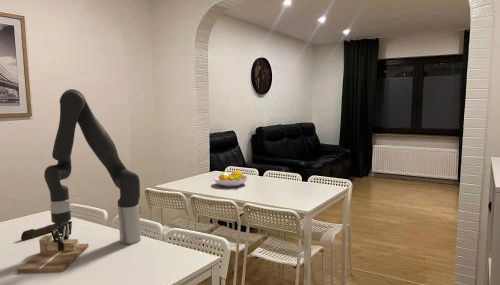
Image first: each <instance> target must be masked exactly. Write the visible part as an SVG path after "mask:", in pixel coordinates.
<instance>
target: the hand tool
mask: <svg viewBox="0 0 500 285" xmlns="http://www.w3.org/2000/svg"><path fill="white" fill-rule="evenodd" d="M54 230H55V223H52V224H49V225H48V224H47V225H46V226H43V227H39V228H36V229H35V228H31V229H28V230H24V231H23V232H22V233H21V236H20V241H21V242H23V241H24V242H25V241H29V240H33V239H35V238H36V237H38V236H42V235H44V234H45V235H46V234H48V233H51V231H54Z"/></svg>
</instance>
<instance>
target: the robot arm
mask: <svg viewBox="0 0 500 285" xmlns="http://www.w3.org/2000/svg"><path fill="white" fill-rule="evenodd" d="M59 112H60V113H59V123H58V128H57V132H56V135H55V138H54V139H55V140H54V144H53V149H52V153H51V156H52V159H53V160H56V161H57V164H52V165H48V166H47V167H46V168H45V170H44V172H43V173H44V175H43V178H44V180H45V183H46V185H47V187H48V190H49V197H50V216H51V223H52V224H55V230H54V231H51V232H50V233H51V234H50V235H52V240H54V243H58V251H63V250H64V242H63V240H65V239H70V236H71V234H72V229H73V228H72V227H73V221H72V214H71V213H72V210H71V202H70V194H69V188H68V186H67V185H62V183H61V181H63V180H66V179H68V178H69V177H70V175H71V174H72V159H71V157H72V151H73V147H74V143H75V142H74V141H75V133H76V132H75V131H76V127H77V125H78V126H79V128H80V131H81V132H82V135H83V137H84V138H85V141H86V143H87V145H88V146H89V148H90V149H91V151H92V152H93V153H94V155H95V156H96V157H97V159H98V160H99V161H100V162H101V164H102V165H103V166H104V168H105V169H106V170H107V172H108V174H109V176H110V178H111V179H112V182H113V184H114V185H115V187H117V188H118V189H119V198H118V199H117V213H118V228H119V229H118V231H119V242H120V244H122V245H132V244H136V243H138V242H140V241H141V237H142V236H141V222H140V202H139V201H140V198H141V184H140V178H139V177H140V176H138V174H137V173H136V172H134V171H132V170H129V169H128V168H127V167H126V166H125V164H124V163H123V162H122V160H121V159H120V156H119V153H118V149H117V146H116V144H115V143H114V141H113V139H112V138H111V136H110V135H109V133H108V132H107V130H106V129H105V128H104V127H103V125H102V123H100V121H99V120H98V119H97V118H96V116H95V114H94V112H92V110H91V108H90V106H89V103H88V102H87V99H86V97H85V95H84V94H83V93H82V92H81V91H80V90H78V89H72V88H71V89H66V90H65V91H64V92H63V93H62V94H61V95H60V98H59ZM70 220H71V221H70Z"/></svg>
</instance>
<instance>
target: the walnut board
mask: <svg viewBox="0 0 500 285" xmlns="http://www.w3.org/2000/svg"><path fill="white" fill-rule="evenodd" d="M88 248H89V243H78V247H77V248H76V249H75V250H68V251H47V252H40V251H39V252H38V253H37V254H36V255H34V256H33V257H32V258H30V259H29V260H28V261H27V262H25V263H24V264H22V265H21V266H19V267H18V268H17V274H29V273H32V274H33V273H55V272H56V273H58V272H62V273H63V271H65V270H66V269H67V268H68V267H69V266H70V265H71V264H72V263H73V262H74V261H75V260H76V259H77V258H79V256H81V254H82V255H83V253H84V252H85V251H86V250H87V249H88Z"/></svg>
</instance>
